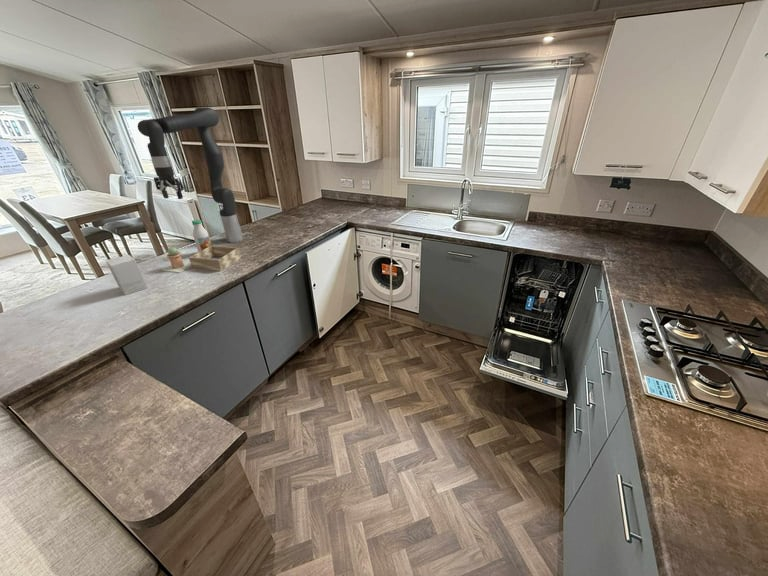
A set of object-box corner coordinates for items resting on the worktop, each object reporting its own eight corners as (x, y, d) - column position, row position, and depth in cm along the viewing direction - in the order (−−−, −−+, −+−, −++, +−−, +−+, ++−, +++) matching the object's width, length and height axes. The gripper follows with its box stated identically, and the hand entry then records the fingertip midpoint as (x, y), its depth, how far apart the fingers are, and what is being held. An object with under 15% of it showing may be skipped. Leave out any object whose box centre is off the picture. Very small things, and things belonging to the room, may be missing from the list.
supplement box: (142, 282, 146) (129, 254, 138) (148, 288, 141) (135, 259, 133) (119, 289, 140) (104, 260, 132) (124, 295, 135) (110, 265, 127)
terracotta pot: (177, 263, 163) (170, 244, 158) (187, 264, 162) (181, 245, 157) (168, 268, 158) (161, 249, 152) (178, 269, 157) (171, 250, 151)
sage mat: (178, 262, 166) (177, 261, 166) (195, 264, 164) (195, 263, 164) (161, 270, 156) (161, 270, 156) (179, 272, 155) (179, 272, 154)
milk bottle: (197, 256, 173) (186, 223, 163) (200, 251, 179) (190, 219, 169) (212, 255, 175) (202, 222, 165) (214, 250, 181) (205, 218, 171)
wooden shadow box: (214, 255, 175) (211, 245, 172) (241, 257, 172) (238, 247, 169) (192, 267, 160) (188, 257, 157) (221, 270, 157) (218, 260, 154)
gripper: (180, 165, 151) (190, 197, 159) (156, 164, 153) (167, 196, 162) (168, 167, 145) (179, 200, 153) (144, 166, 147) (156, 199, 155)
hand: (173, 198), depth 157 cm, fingers open, 8 cm apart
